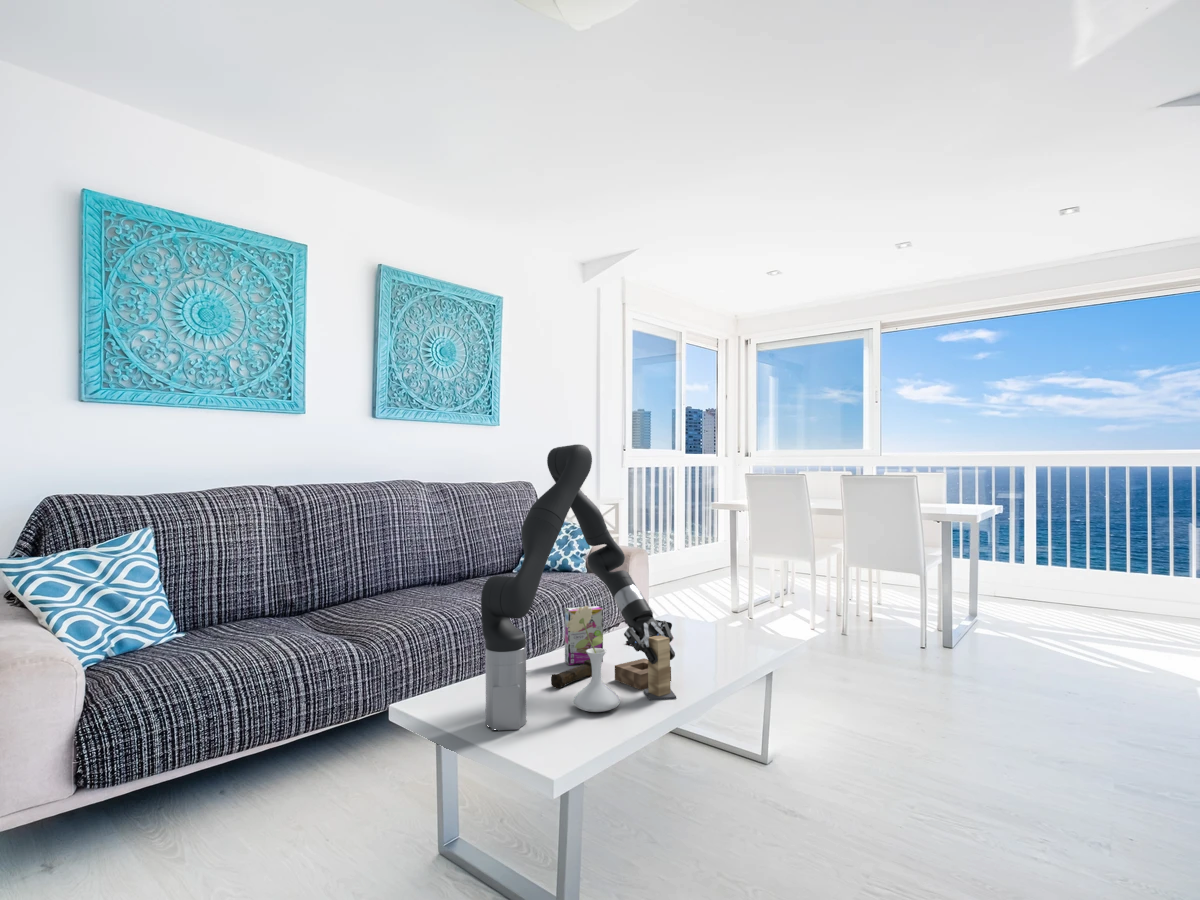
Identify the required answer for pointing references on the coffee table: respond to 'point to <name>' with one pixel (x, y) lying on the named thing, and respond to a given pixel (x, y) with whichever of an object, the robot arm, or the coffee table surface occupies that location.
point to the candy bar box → (582, 635)
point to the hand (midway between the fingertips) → (663, 660)
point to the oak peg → (659, 666)
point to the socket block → (634, 673)
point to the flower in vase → (596, 691)
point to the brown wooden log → (571, 675)
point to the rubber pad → (654, 697)
